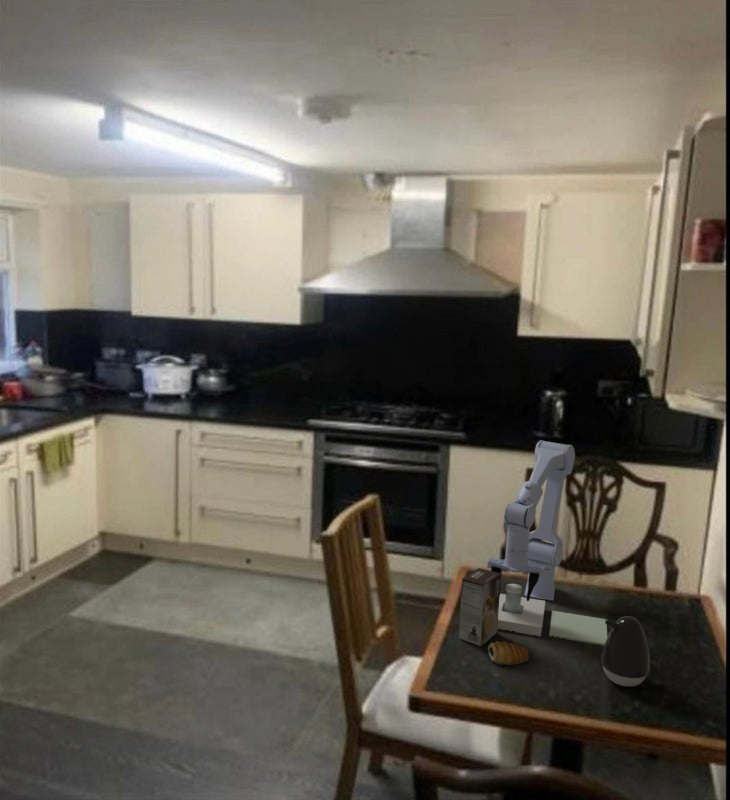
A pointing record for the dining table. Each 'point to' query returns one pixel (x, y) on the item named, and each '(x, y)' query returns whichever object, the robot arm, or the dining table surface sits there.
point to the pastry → (507, 653)
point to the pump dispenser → (626, 652)
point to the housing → (522, 616)
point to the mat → (578, 628)
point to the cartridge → (513, 598)
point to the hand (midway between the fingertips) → (513, 597)
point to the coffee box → (479, 606)
